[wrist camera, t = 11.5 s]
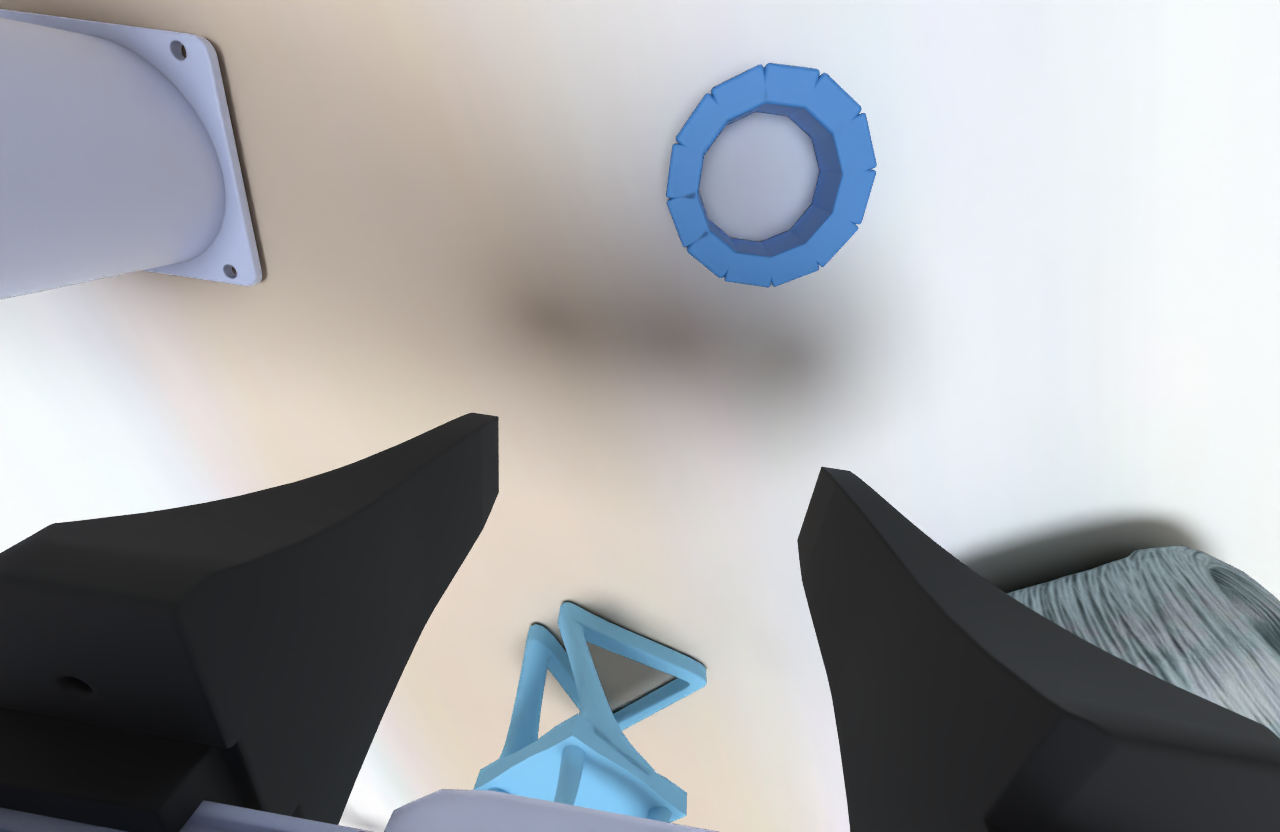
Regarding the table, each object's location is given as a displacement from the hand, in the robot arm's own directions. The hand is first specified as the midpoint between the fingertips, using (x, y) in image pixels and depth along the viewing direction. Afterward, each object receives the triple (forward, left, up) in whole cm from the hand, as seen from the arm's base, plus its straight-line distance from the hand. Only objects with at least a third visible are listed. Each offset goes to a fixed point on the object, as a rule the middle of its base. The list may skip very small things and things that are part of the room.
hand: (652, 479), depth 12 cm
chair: (-1, -18, -10) cm, 20 cm away
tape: (+2, +6, -9) cm, 11 cm away
